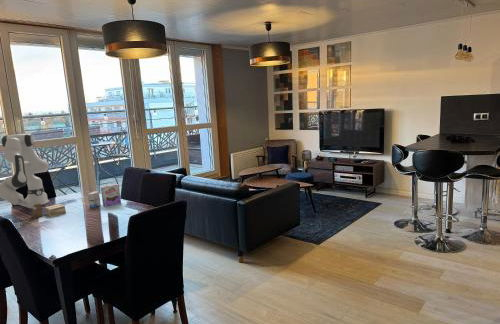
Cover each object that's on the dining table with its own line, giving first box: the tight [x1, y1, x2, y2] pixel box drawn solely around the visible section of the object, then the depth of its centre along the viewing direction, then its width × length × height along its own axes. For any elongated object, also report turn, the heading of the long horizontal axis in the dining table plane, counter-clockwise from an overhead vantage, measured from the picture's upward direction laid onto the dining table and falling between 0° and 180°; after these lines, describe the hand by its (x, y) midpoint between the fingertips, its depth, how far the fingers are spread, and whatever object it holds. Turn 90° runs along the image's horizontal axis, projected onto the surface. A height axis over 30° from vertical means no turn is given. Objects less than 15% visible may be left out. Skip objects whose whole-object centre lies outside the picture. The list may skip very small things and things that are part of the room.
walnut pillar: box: [30, 203, 43, 219], centre depth 264 cm, size 5×5×10 cm
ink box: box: [87, 191, 101, 208], centre depth 283 cm, size 9×5×12 cm, turn 168°
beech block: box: [44, 203, 67, 218], centre depth 269 cm, size 11×11×6 cm
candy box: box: [100, 183, 122, 207], centre depth 285 cm, size 14×6×16 cm, turn 120°
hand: (33, 208), depth 262 cm, fingers open, 8 cm apart
